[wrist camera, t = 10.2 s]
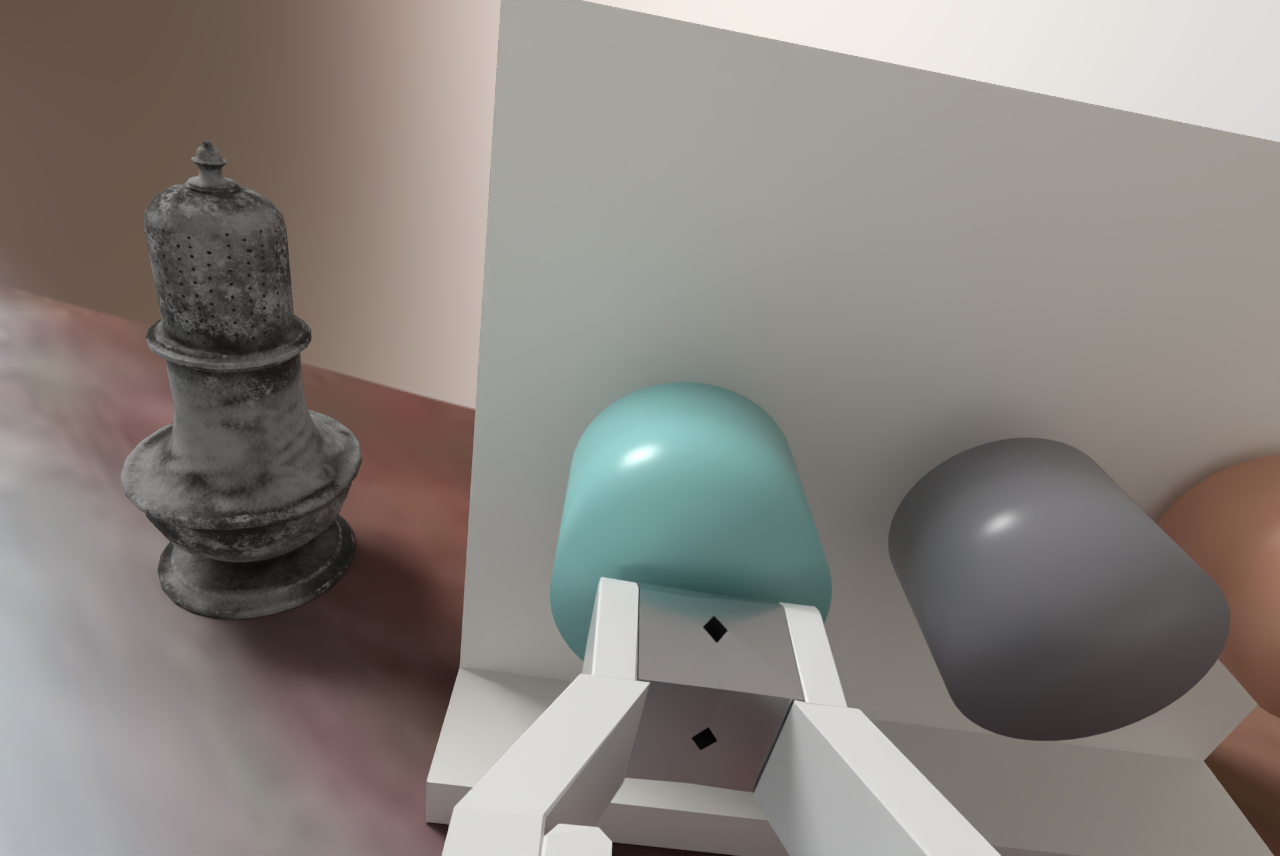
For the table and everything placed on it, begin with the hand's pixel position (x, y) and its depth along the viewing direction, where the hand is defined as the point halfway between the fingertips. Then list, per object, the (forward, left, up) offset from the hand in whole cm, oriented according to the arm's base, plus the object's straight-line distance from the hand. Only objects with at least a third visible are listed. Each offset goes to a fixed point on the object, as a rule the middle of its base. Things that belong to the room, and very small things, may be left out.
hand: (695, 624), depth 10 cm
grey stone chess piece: (-11, +9, -9) cm, 17 cm away
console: (+6, +5, -9) cm, 12 cm away
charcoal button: (+6, +2, -2) cm, 7 cm away
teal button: (0, +2, -2) cm, 3 cm away
